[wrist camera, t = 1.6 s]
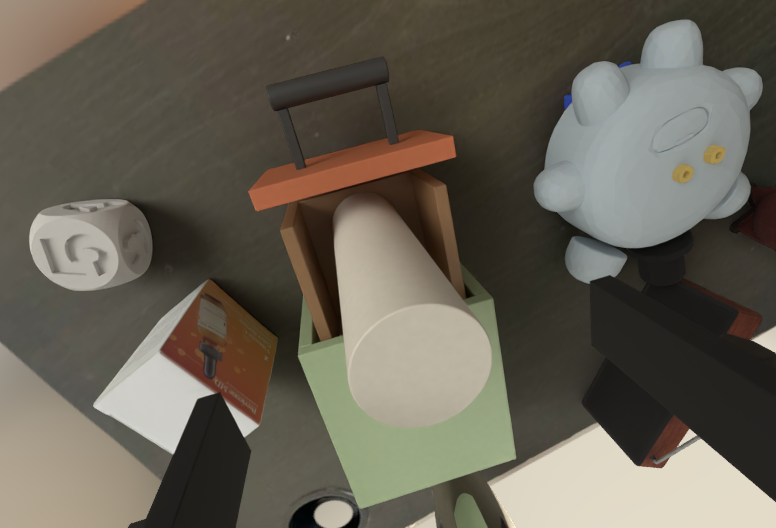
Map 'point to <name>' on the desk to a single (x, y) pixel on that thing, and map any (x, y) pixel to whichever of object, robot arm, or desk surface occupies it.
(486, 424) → the cabinet
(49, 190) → the desk surface
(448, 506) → the metal tumbler
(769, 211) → the mate gourd
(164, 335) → the small box
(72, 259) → the die
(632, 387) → the radio
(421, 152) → the drawer
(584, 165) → the figurine
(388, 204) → the canister
